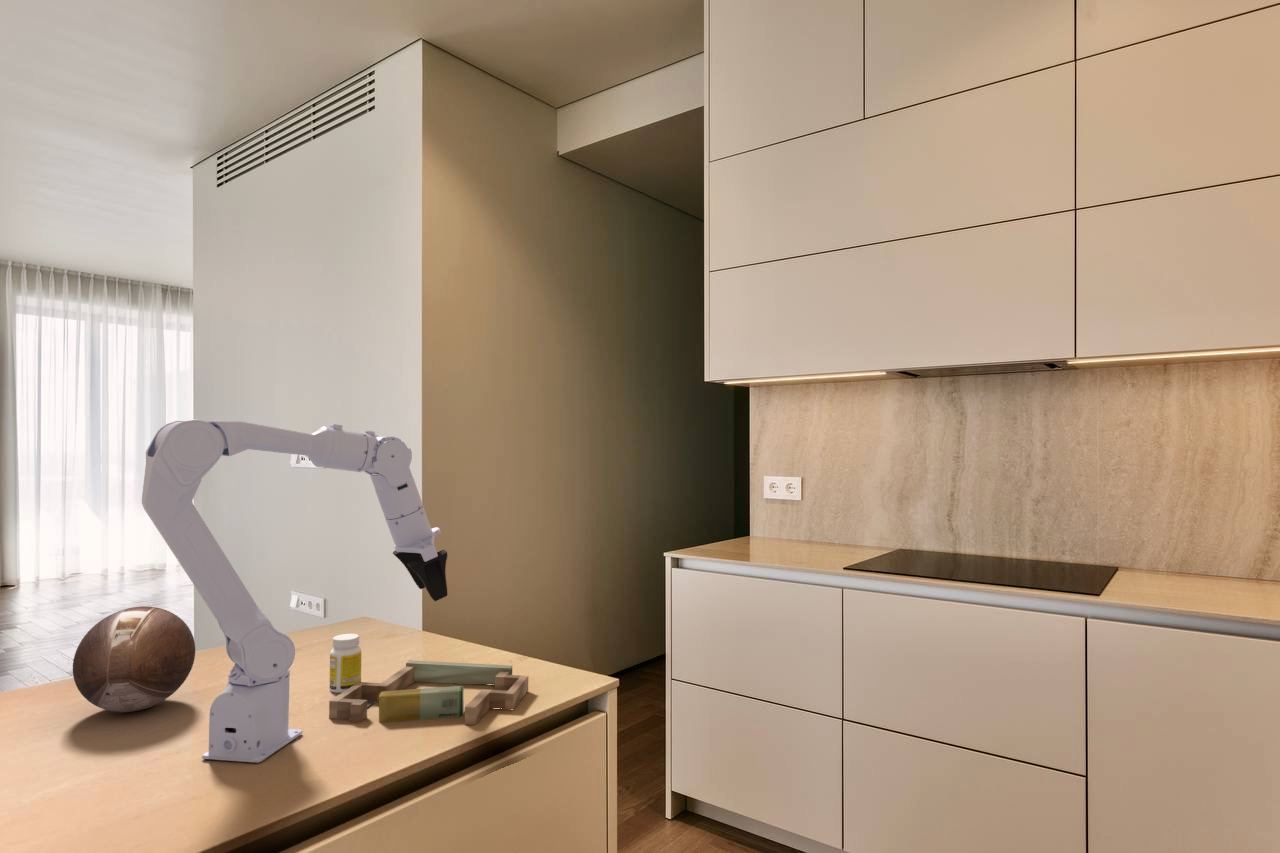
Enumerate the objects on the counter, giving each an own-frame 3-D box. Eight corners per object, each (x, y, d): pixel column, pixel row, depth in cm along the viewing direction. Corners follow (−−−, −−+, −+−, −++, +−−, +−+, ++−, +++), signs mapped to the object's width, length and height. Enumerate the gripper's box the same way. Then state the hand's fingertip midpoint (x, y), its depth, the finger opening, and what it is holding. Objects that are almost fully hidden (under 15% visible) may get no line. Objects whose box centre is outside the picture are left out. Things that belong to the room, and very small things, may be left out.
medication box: (464, 711, 109) (464, 684, 109) (463, 718, 106) (464, 690, 106) (379, 717, 106) (380, 690, 106) (377, 724, 104) (377, 696, 104)
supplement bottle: (366, 684, 120) (367, 633, 120) (352, 694, 115) (353, 641, 115) (338, 683, 120) (339, 632, 120) (323, 692, 115) (324, 639, 116)
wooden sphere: (65, 737, 97) (69, 625, 98) (76, 702, 110) (79, 603, 110) (196, 714, 106) (198, 611, 106) (192, 685, 118) (194, 593, 119)
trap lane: (496, 730, 101) (496, 709, 101) (325, 720, 104) (326, 699, 104) (533, 684, 120) (533, 666, 121) (388, 676, 124) (389, 659, 124)
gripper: (443, 508, 105) (472, 591, 108) (416, 495, 117) (442, 570, 120) (396, 527, 102) (428, 613, 105) (373, 512, 114) (402, 589, 117)
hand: (433, 592), depth 112 cm, fingers open, 7 cm apart
